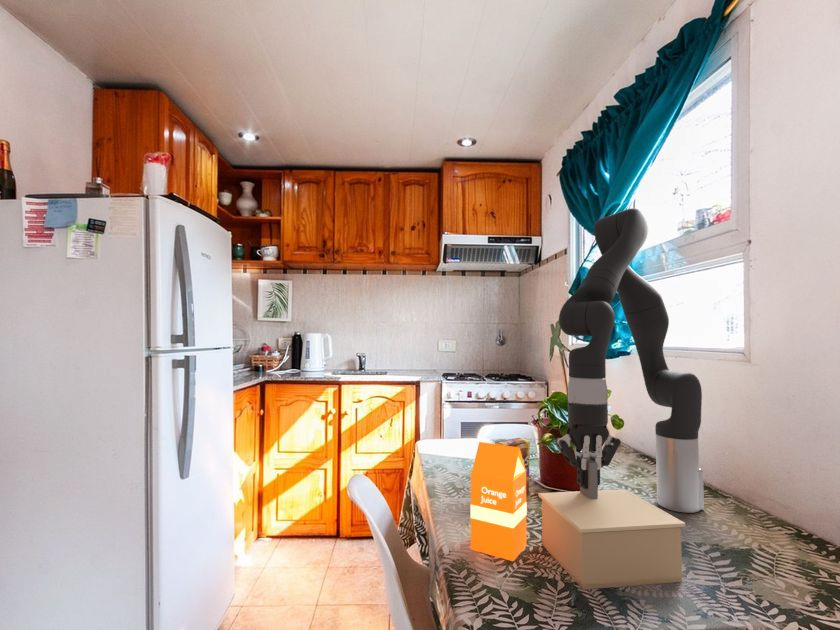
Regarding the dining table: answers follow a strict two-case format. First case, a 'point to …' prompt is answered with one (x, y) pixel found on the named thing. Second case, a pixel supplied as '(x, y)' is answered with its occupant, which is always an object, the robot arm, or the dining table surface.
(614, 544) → the carton
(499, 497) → the orange juice
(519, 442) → the candy box
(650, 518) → the carton lid
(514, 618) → the dining table surface
